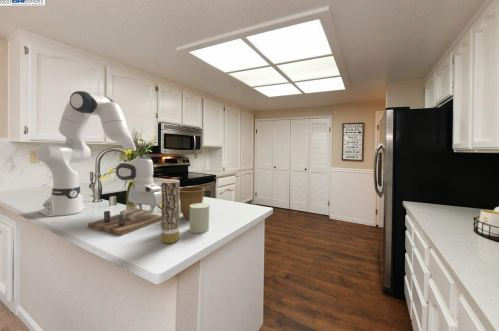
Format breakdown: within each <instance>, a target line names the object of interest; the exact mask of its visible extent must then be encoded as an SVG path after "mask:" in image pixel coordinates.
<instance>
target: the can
mask: <svg viewBox="0 0 499 331" xmlns="http://www.w3.org/2000/svg"><path fill="white" fill-rule="evenodd" d="M210 207H211V206H210V204H208V203H205V202H202V203H196V204H191V205H190V219H189V228H188V230H189V232H191V233H193V234H194V233H195V234H201V233H202V234H203V233H206V232H208V231H209V230H210Z"/></svg>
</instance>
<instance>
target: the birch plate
mask: <svg viewBox="0 0 499 331" xmlns="http://www.w3.org/2000/svg"><path fill="white" fill-rule="evenodd" d="M119 214H125V218H126V219H130V220H135V221H139V220H142V219H145V218H148V217H151V211H149V210H147V209H141V208H140V209H137V208H135V207H132V208H129V209H126V210H122V211H120V212H119Z"/></svg>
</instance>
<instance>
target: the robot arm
mask: <svg viewBox="0 0 499 331" xmlns="http://www.w3.org/2000/svg"><path fill="white" fill-rule="evenodd" d="M91 116H97V117H99V119H100V122H101V127H102V130H103V132H104V134H105V136H106V137H107V138H108V139H109V140H111V141H114V142H116V144H118V145H120V146H121V147H122V148H123V150H124V151H125V150H127V149H129V148H131V149H132V150H133V151H136V149H137V150H138V148H137V145H136V143H135V140H134V139H133V136H132V135H131V132H130V129H129V128H128V124H127V121H126V118H125V115H124V112H123V110H122V108H121V107H120V105H119V104H118V103H117V102H114V100H113V99H111V98H110V97H109V96H105V95H101V94H99V93H96V92H95V93H94V92H89V91H88V92H87V91H84V90H83V91H82V90H76V91H74V92H72V93H71V95H70V97H69V101H68V102H67V104H66V105H65V107H64V109H63V112H62V115H61V119H60V123H59V126H58V131H59V133H60V134H61V136H63V137H65V142H54V141H53V142H45V143H40V144H39V145H38V146H37V148H36V150H35V156H36V158H37V159H38V160H39V161H40V162H42V163H43V164H45V165H46V167H48V168H49V170H50V172H51V175H52V182H53V183H52V184H53V188H52V189H51V194H50V196H49V197H48V198H47V199H46V200H45V201H44V202H43V204H42V205H43V208H42V209H39V210H38V212H39V213H40V214H42V215H44V216H45V217H57V216H59V217H60V216H69V215H70V216H71V215H74V214H78V213H82V212H83V211H84V210H85V209H86V206H85V205H84V197H83V195H82V194H81V186H80V173H79V172H78V171H76V170H75V169H72V168H71V166H70V163H81V162H85V161H87V160H89V159H90V157H91V156H92V153H91V148H90V147H89V146H88V145H87V143H86V142H85V134H86V130H87V126H88V122H89V119H90V117H91ZM115 174H116V175H115V176H116V177H117V178H118V179H119V180H121V181H132V180H134V185H133V184H132V185H131V186H130V187H129V192H128V197H127V198H128V199H127V200H128V202H129V203H133V206H134V208H137V209H141V207H140V205H144V206H149V208H150V209H149V210H148V211H151V214H154V211H155V208H156V207H159V206H161V205H162V186H159V185H158V184H157V183H155V182H154V178H153V177H154V163H153V159H152V158H151V157H148V156H143V155H142V156H141V155H140V156H137V157H136V158H135V159H133V160H131V161H129V160H128V161H124V162H122V163H119V164H118V165H117V166H116V167H115Z"/></svg>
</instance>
